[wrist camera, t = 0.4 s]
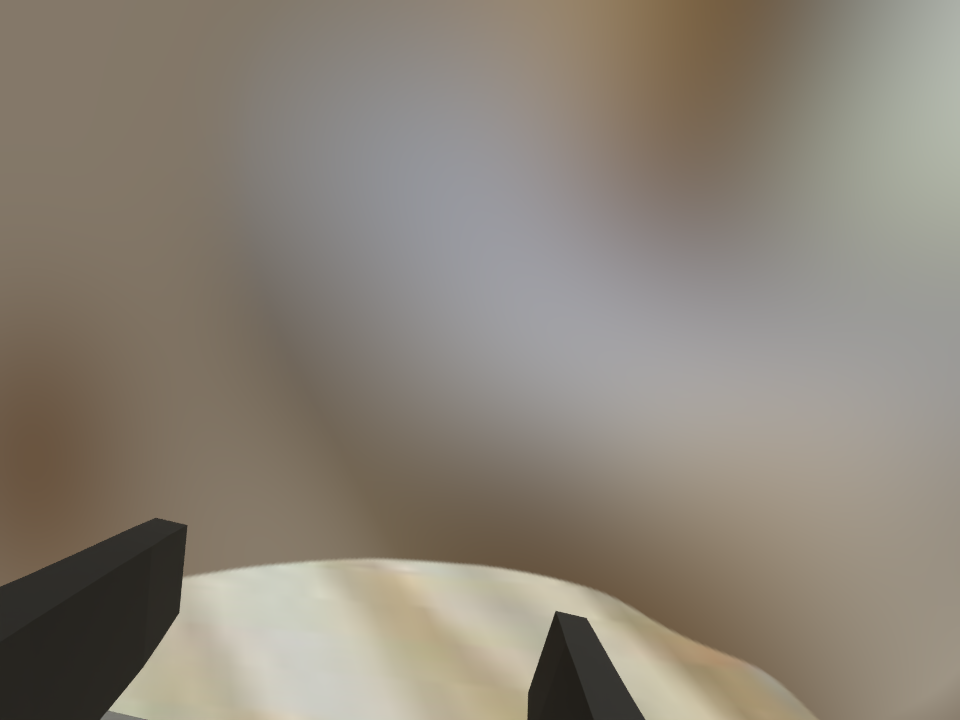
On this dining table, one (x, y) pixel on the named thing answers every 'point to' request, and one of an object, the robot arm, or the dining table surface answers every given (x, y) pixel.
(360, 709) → the dining table surface
